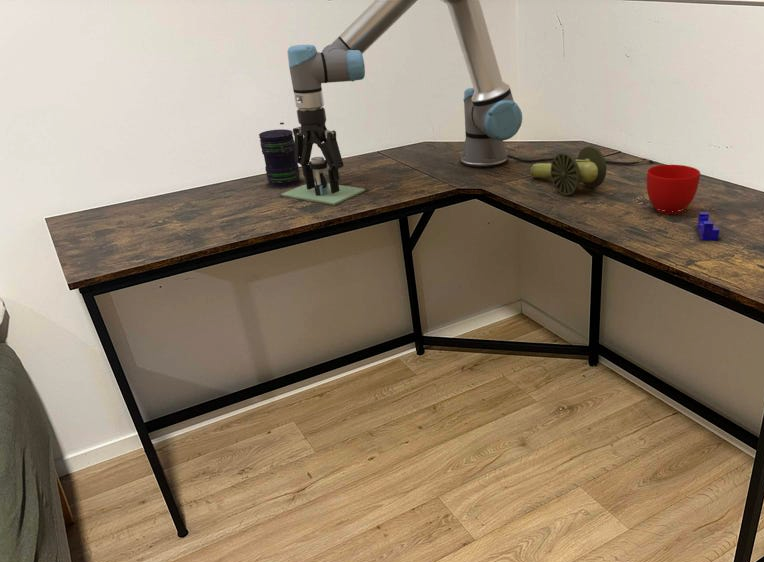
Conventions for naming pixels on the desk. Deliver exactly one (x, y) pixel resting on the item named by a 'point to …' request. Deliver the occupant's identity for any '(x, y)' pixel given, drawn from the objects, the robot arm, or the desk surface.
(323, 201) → the desk mat
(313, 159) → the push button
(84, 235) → the desk surface
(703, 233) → the blue stepped block
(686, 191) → the ceramic cup
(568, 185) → the cannon
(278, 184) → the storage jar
